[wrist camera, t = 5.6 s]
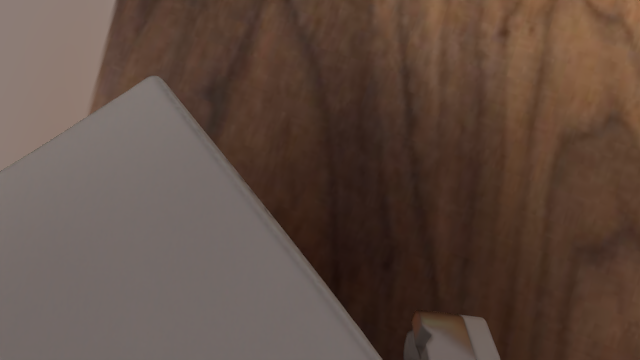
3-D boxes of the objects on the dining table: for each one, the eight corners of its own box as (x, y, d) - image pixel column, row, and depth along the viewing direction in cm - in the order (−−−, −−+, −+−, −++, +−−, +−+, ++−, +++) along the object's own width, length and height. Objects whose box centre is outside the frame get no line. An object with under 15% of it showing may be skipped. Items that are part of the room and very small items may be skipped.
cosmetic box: (357, 328, 15) (493, 500, 3) (274, 400, 14) (95, 913, 3) (270, 213, 16) (153, 56, 5) (188, 274, 16) (-185, 270, 4)
